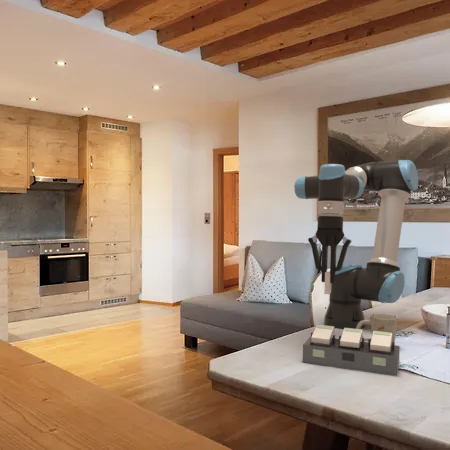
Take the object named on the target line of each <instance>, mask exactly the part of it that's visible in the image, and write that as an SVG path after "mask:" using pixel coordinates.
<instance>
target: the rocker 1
mask: <svg viewBox="0 0 450 450" xmlns="http://www.w3.org/2000/svg"><path fill="white" fill-rule="evenodd" d="M334 333H335V327H334V326H328V325H325V324H324V325H323V324H317V325H316V327H315V329H314V331H313V335H312V337H311V336H310V337H311V342H314V343H322V344H330V341H331V338H332V336H333V335H334Z"/></svg>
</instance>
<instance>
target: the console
mask: <svg viewBox="0 0 450 450" xmlns="http://www.w3.org/2000/svg"><path fill="white" fill-rule="evenodd" d="M313 333H314V331H313V332H310V336H309V338H308V339H307V340H305V342H304V343H303V344H302V363H305V364H312V365H318V366H319V365H320V366H327V367H334V368H341V369H346V370H347V369H348V370H354V371H361V372H367V373H368V372H369V373H375V374H381V375H388V376H389V375H390V376H395V377H397V376H398V374H399V373H398V372H399V368H398V367H400V352H401V351H400V350H401V349H400V348H401V345H396V344H395V342H396V341H394V342H392V345H391V349H390V352H386V351H378V350H370V344H371V339H372V338H371V339H369V340H368V341H364V338H365V337H364V338H362V339H361V342H360V346H359V348H354V347H346V346H340V340H341V337H342V335H338V338H337V337H336V334H333V336H332V338H331V341H330V344H322V343H314V342H311V337H312V335H313Z"/></svg>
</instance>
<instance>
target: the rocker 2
mask: <svg viewBox="0 0 450 450" xmlns="http://www.w3.org/2000/svg"><path fill="white" fill-rule="evenodd" d="M341 336H342V337H341V340H340V346H346V347H354V348H359V346H360V342H361V341H362V339H361V338H362V336H363V329H362V328H360V329H352V328H343V332H342V335H341Z"/></svg>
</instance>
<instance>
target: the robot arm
mask: <svg viewBox="0 0 450 450" xmlns="http://www.w3.org/2000/svg"><path fill="white" fill-rule="evenodd" d="M318 173H319V174H318V175H313V176H301V177H298V178H297V179H296V180H295V182H294V186H293V187H294V193H295V197H297V198H298V199H303V200H304V199H305V200H311V199H312V200H313V199H315V200H316V199H318V203H317V205H318V206H317V214H318V215H319V216H317V228H316V231H315V234H314V235H313V236H312V237H309V238H308V239H307V241H308V243H309V244H310V247H311V252H312V254H313V256H312V257H313V261H314V265H315V269H316V270H318V271H321V280H320V281H321V283H324V295H329V300H328V302H329V304H328V307H327V308H326V312H325V314H324V321H323V323H324V325H325V326H334V328H337V329H344V328H352V329H356V327H357V325H358V323H359V322H360V321H362V320H366V318H365V315H364V311H363V308H362V300H363V301H371V302H379V303H382V304H384V303H385V304H394V303H396V302H397V301H398V300H399V299H400V298H401V297H402V294H403V292H404V288H405V284H406V283H405V282H406V281H405V275H404V273H403V272H402V271H401V266H400V265H399V264H398V263H397V261H398V255H399V249H400V248H399V247H400V240H401V233H402V227H403V219H404V212H405V204H406V201H407V200H408V199H410V198H411V194H412V192H415V191H417V189H418V187H419V174H418V170H417V167H416V165H415V163H414V162H413V161H412V160H409V159H398V160H387V161H386V160H385V161H372V162H366V163H363V164H359V165H356V166H352V167H349V168H348V169H346V168H345V165H343V164H339V163H326V164H322V165H321V166H320V168H319V172H318ZM364 192H374V193H375V192H377V195H379V197H380V204H379V211H378V218H377V224H376V231H375V237H374V241H373V243H374V244H373V251H372V255H371V256H372V257H371V259H370V260H368V261H367V262H366V267H365V268H364V267H363V266H362V265H363V264H361V263H344V261H345V258H346V255H347V251H348V249H349V246H350V245H351V243H352V239H349V238H348V237H346V236H345V233H344V217H343V216H342V215H344V207H345V206H344V205H345V203H344V201H345V199H346V200H355V199H358V198H360V197H361V196H362V195H363V193H364ZM318 241H319V244H320V245H321V250H322V252H321V259H320V254H319V248H318V244H317V242H318ZM341 242H342V247H341V249H340V254H339V257H338V261H337V250H338V249H337V247H338V245H339V244H340V243H341ZM329 247H330V263H329V266H330V267H329V271H328V257H329V256H328V253H329ZM365 327H366V324H363V325H362V326H361V328H360V329H362V328H365Z"/></svg>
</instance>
